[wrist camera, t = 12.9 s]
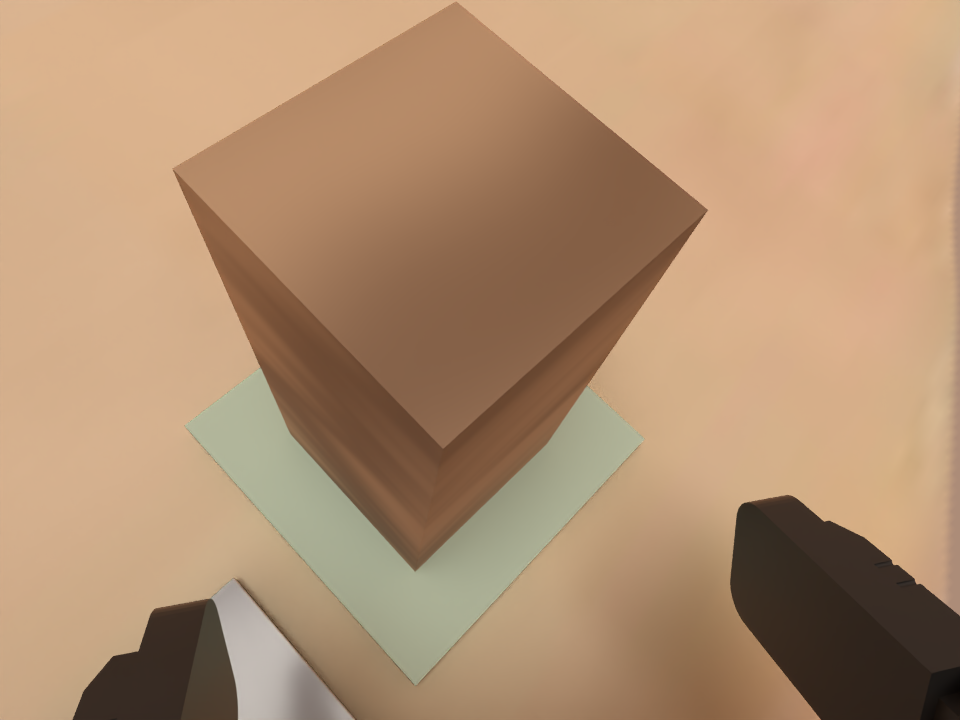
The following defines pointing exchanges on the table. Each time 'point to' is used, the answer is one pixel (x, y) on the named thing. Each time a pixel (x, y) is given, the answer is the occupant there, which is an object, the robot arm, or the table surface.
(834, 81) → the table surface
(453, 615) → the sage mat
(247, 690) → the tile
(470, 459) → the walnut block
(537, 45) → the table surface
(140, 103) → the table surface
